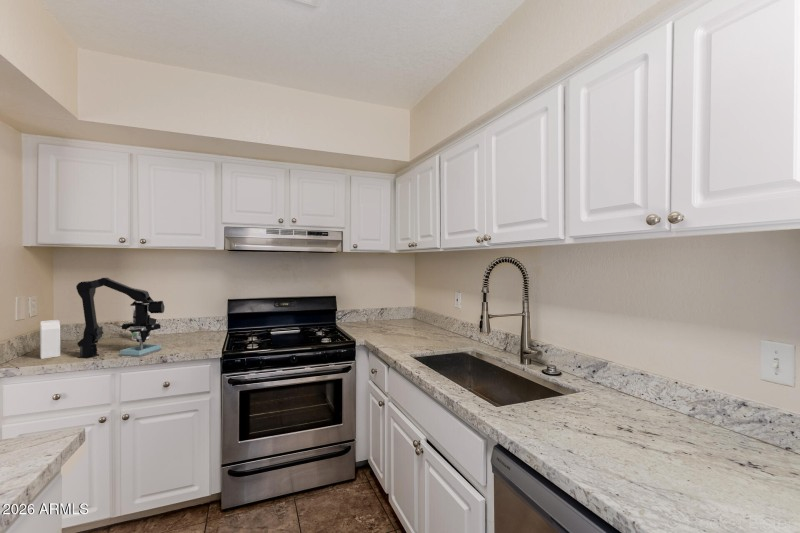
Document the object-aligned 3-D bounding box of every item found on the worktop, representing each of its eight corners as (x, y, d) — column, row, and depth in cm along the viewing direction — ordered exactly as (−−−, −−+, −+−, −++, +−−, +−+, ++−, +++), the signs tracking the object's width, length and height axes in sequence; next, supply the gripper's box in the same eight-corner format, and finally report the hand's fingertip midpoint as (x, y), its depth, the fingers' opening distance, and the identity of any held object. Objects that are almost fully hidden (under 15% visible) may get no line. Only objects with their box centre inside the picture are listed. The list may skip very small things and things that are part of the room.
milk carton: (60, 356, 188) (60, 320, 188) (41, 359, 182) (41, 322, 182) (58, 354, 193) (58, 319, 192) (40, 356, 187) (40, 320, 187)
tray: (120, 356, 189) (120, 350, 189) (143, 349, 204) (143, 344, 204) (139, 357, 188) (139, 351, 188) (161, 350, 203) (161, 344, 203)
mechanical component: (151, 347, 201) (151, 329, 201) (135, 351, 191) (136, 333, 191) (146, 347, 201) (146, 329, 201) (130, 351, 191) (130, 332, 191)
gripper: (168, 312, 203) (168, 339, 203) (138, 311, 205) (138, 338, 205) (152, 314, 192) (152, 344, 192) (120, 313, 194) (120, 342, 194)
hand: (141, 342), depth 196 cm, fingers closed on mechanical component, 3 cm apart
